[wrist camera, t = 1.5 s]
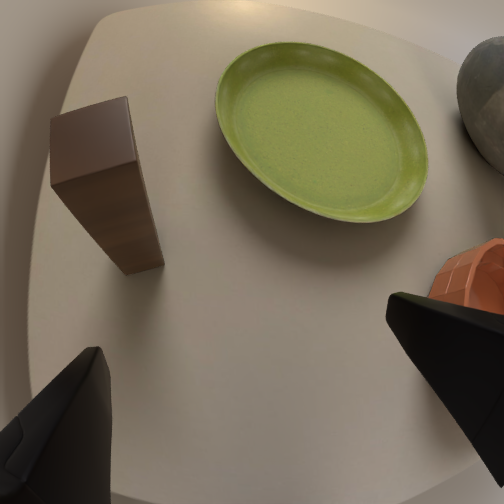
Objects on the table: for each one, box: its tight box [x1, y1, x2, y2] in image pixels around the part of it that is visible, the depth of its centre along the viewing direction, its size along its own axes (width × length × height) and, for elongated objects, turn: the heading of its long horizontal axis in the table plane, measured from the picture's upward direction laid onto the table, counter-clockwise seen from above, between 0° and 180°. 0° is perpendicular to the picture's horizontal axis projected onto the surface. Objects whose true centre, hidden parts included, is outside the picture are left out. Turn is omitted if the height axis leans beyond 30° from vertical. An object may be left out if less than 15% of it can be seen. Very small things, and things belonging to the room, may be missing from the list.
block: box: [50, 96, 165, 275], centre depth 16 cm, size 3×3×14 cm
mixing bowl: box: [428, 238, 504, 315], centre depth 24 cm, size 16×16×6 cm
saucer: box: [215, 42, 428, 223], centre depth 27 cm, size 21×21×3 cm
